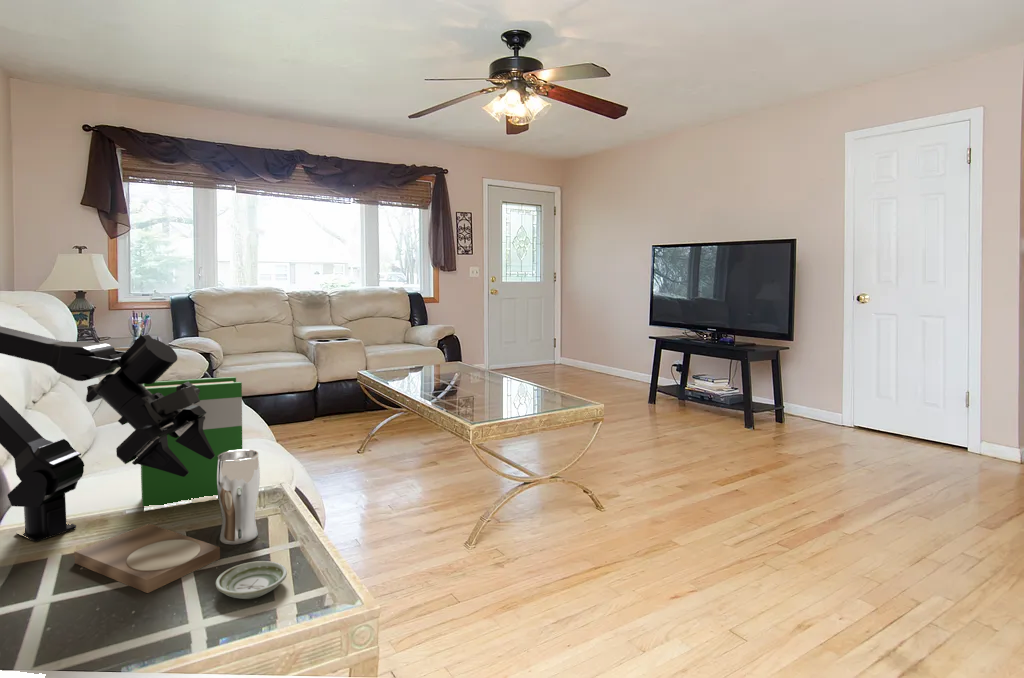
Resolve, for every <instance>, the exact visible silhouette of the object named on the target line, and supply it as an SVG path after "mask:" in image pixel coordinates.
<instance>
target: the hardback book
mask: <svg viewBox="0 0 1024 678" xmlns="http://www.w3.org/2000/svg"><path fill="white" fill-rule="evenodd" d="M186 382H190V383H191V384H192V385H195V387H196V388H198V389H200V392H199V395H198V397H199V399H200V402H197V403H195V404H194V403H193V404H192V405H199V406H200V407H201V408H202V409H204V410H205V411H206V414H205V415H204V416H205V420H204V422H203V431H204V433H205V436H206V438H207V440H208V442H209V444H210V446H211V448H212V450H213V452H214V454H215V457H214V458H212V459H211V460H210V459H207V458H205V457H203V456H201V455H199V454H198V453H196V452H194V451H192V450H190V449H188V448H187V447H185V446H183V445H181V444H179V443H177V442H176V440H177V439H178V438H179V437H178V438H174V437H171V436H170V435H167V440H168V447H169V449H170V450H171V451H172V452H173V453H174V454H175V455H176V457H177V458H178V459H179V460H180V461H181V462H182V463H183V465H184V466H185V467H186V469H187V470H188V471H189V473H188V474H187V475H186V476H185V477H182V476H179V475H175V474H172V473H169V472H166V471H162V470H159V469H156V468H152V467H148V466H144V465H140V479H141V485H140V487H141V503H142V507H143V506H149V505H164V504H167V503H173V502H178V501H181V500H188V499H189V500H191V498H193V499H194V498H199V497H204V496H213V495H217V488H216V468H217V456H218V455H219V454H221V453H223V452H227V451H231V450H240V449H243V387H242V385H243V383H242V382H241V381H237V376H229V377H228V376H226V377H209V378H193V379H192V378H191V379H175V380H160V381H159V380H156V381H155V382H154V383H153V384H145V383H144V384H142V385H143V386H144V387H145V388H146V389H147V390H148V391H149V392H150V393H151V394H154V393H157V392H158V393H161V394H162V395H163V396H167V395H169V394H171V393H174V392H176V387H177V386H179V385H182V384H183V383H186ZM192 405H190V406H192ZM190 406H188V407H190ZM186 408H187V407H186ZM183 409H185V408H183ZM183 409H180V410H181V411H182V410H183ZM175 417H176V416H175ZM175 417H174V418H175Z"/></svg>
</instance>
